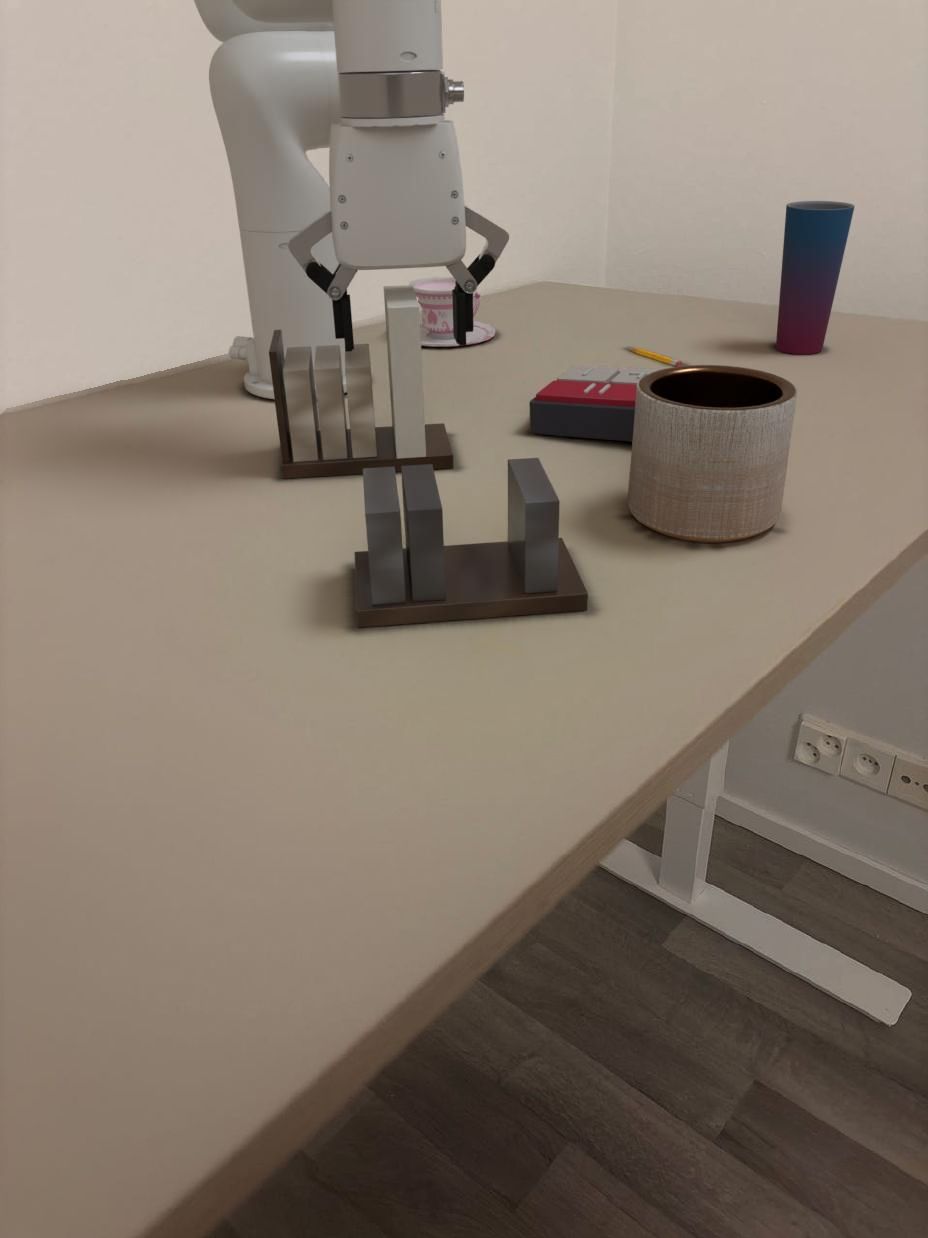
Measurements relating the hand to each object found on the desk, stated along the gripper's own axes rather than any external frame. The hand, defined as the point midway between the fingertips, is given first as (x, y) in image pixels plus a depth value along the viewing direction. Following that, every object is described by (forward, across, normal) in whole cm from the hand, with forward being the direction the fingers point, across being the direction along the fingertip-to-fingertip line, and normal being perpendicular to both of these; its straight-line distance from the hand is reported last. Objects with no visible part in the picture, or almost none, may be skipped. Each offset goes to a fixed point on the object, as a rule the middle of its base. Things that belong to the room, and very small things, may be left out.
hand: (404, 343), depth 78 cm
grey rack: (+9, -2, +25) cm, 27 cm away
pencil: (+10, -29, -25) cm, 40 cm away
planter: (+10, -20, +16) cm, 28 cm away
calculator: (+10, -20, -4) cm, 23 cm away
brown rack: (+9, +4, 0) cm, 10 cm away
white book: (+8, 0, 0) cm, 8 cm away
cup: (+10, -46, -26) cm, 53 cm away
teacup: (+10, -7, -39) cm, 41 cm away
